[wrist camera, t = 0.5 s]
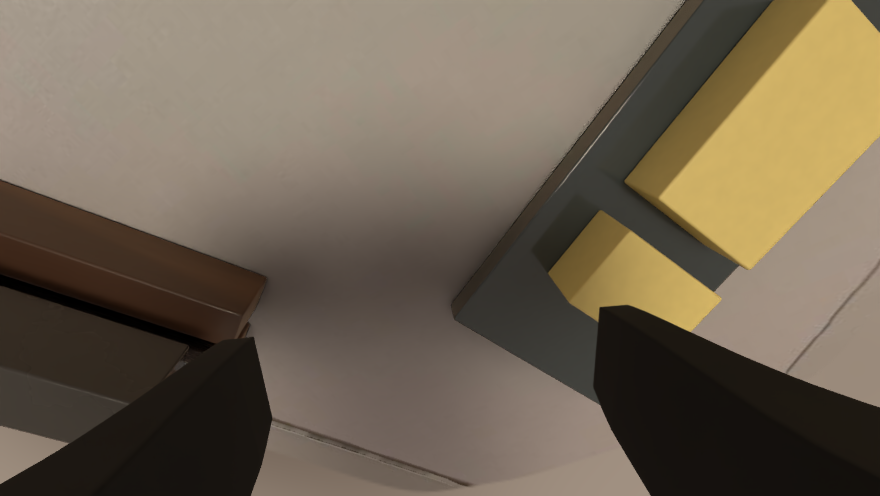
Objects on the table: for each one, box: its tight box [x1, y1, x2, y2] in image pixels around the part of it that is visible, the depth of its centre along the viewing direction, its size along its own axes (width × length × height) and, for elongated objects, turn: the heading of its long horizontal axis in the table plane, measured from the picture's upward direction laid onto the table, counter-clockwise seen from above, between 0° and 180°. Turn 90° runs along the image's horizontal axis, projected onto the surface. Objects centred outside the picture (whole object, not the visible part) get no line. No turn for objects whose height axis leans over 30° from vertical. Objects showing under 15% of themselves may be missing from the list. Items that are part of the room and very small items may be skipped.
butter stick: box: [624, 0, 880, 270], centre depth 15 cm, size 7×4×2 cm, turn 145°
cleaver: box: [0, 274, 215, 443], centre depth 14 cm, size 2×9×7 cm, turn 65°
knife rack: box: [0, 181, 267, 344], centre depth 16 cm, size 4×10×3 cm, turn 65°
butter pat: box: [548, 210, 721, 332], centre depth 16 cm, size 3×4×2 cm
